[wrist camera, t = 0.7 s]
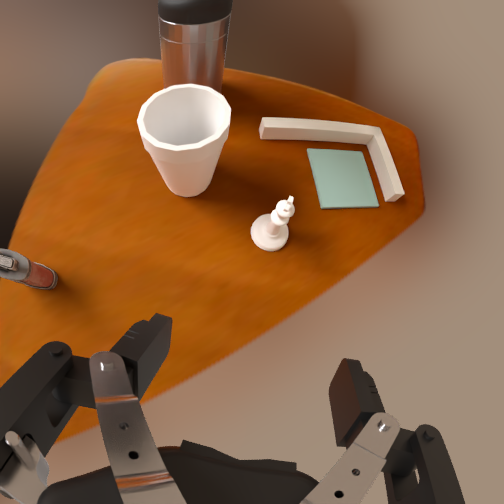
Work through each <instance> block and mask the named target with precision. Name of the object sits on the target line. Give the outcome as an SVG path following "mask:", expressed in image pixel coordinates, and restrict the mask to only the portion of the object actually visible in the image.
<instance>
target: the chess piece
mask: <svg viewBox="0 0 504 504" xmlns="http://www.w3.org/2000/svg"><path fill="white" fill-rule="evenodd" d="M293 198H294V197H292V196H289V198H288V200H281V201H279V202H278V203H277V205H276V209H275V210H273V211H272V213H271V214H264V215H262V216H260V217H258V218H257V219H256V220H255V221H254V223H253V224H252V227H251V236H252V239H253V241H254V243H255V244H256V245H257V246H258V247H260V248H261V249H263V250H266V251H275V250H278V249H280V248H282V247H283V246H284V245H285V243H286V241H287V239H288V234H289V231H288V227H287V225H286V224H287V223H288V221H289V217H291V216H292V215H293V214H294V212H295V208H294V205H293V204H292V202H293Z"/></svg>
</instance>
